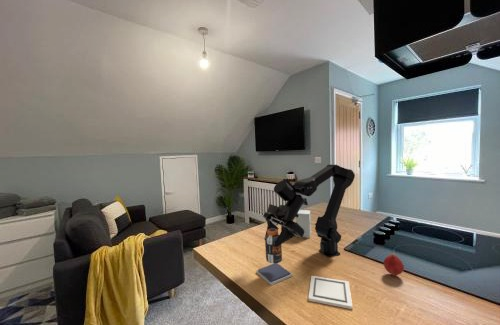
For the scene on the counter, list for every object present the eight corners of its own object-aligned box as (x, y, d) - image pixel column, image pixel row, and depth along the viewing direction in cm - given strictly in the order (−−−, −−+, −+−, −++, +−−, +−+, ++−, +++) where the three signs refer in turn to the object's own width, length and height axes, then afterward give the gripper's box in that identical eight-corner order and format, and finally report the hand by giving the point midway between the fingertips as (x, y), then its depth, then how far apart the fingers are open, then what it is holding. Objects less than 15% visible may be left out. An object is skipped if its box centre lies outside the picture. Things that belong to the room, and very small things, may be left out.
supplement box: (310, 238, 108) (309, 214, 107) (295, 236, 111) (294, 213, 110) (311, 232, 115) (310, 210, 114) (298, 231, 117) (297, 209, 117)
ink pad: (276, 264, 84) (276, 261, 84) (292, 276, 75) (292, 273, 75) (256, 272, 79) (256, 269, 79) (270, 285, 71) (270, 282, 71)
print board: (311, 277, 74) (311, 275, 74) (348, 283, 70) (348, 280, 69) (308, 300, 63) (308, 297, 63) (352, 309, 58) (352, 305, 58)
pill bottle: (274, 266, 73) (272, 234, 72) (262, 260, 77) (260, 230, 77) (285, 259, 76) (283, 229, 76) (274, 254, 81) (272, 225, 81)
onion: (380, 271, 76) (379, 249, 76) (396, 270, 76) (395, 249, 75) (390, 280, 70) (390, 257, 70) (408, 280, 70) (407, 257, 70)
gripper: (265, 192, 86) (243, 224, 81) (296, 199, 70) (271, 240, 65) (281, 207, 90) (261, 239, 85) (314, 218, 74) (292, 257, 69)
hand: (270, 243), depth 76 cm, fingers closed on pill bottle, 6 cm apart
